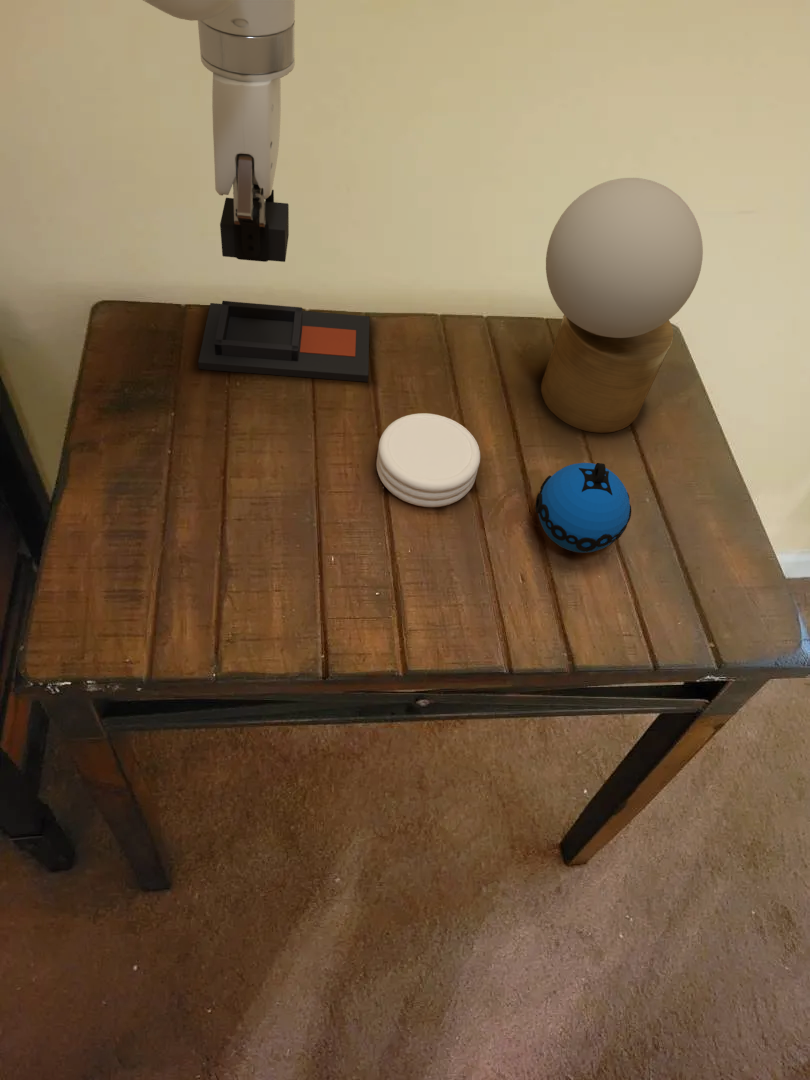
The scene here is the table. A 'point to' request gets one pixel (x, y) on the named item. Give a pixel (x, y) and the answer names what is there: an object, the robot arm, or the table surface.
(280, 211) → the dark grey block
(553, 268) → the lamp
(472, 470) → the coaster
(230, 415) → the table surface
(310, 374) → the base pad
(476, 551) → the table surface
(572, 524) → the ornament
